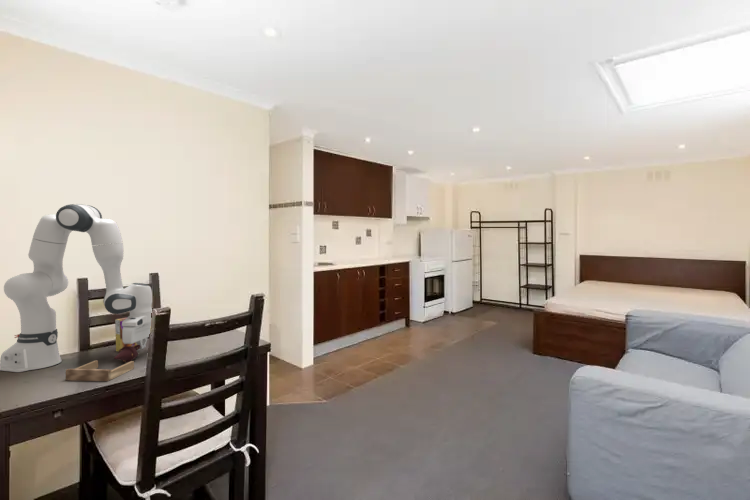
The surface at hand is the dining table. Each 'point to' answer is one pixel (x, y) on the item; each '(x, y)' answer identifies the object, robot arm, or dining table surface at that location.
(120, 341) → the candy box
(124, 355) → the maroon pointed bulb
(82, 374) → the wooden u-shaped frame
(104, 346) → the dining table surface
